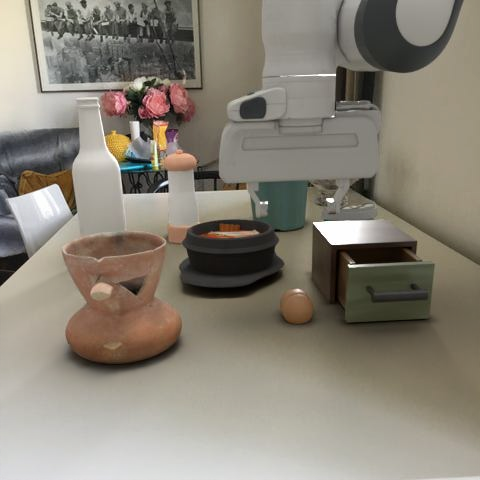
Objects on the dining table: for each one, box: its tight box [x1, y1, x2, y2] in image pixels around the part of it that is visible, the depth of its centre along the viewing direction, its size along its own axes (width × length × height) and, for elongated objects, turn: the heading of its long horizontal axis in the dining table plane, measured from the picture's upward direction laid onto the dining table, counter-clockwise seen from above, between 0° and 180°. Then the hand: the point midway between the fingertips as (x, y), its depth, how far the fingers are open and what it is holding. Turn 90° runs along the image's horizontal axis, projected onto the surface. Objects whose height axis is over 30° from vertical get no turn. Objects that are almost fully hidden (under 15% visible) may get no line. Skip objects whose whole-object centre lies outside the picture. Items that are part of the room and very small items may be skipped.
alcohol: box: [71, 96, 128, 237], centre depth 106 cm, size 9×9×30 cm
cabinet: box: [311, 219, 418, 304], centre depth 90 cm, size 15×13×10 cm
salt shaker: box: [162, 149, 201, 244], centre depth 122 cm, size 7×7×19 cm
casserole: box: [178, 218, 285, 289], centre depth 99 cm, size 25×19×8 cm
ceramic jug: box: [61, 230, 183, 365], centre depth 71 cm, size 18×14×14 cm
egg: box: [279, 288, 315, 325], centre depth 79 cm, size 6×4×4 cm
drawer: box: [335, 247, 436, 323], centre depth 80 cm, size 18×11×8 cm, turn 4°
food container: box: [320, 198, 379, 222], centre depth 107 cm, size 12×6×10 cm, turn 126°
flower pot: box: [249, 180, 309, 232], centre depth 132 cm, size 16×16×16 cm
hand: (297, 215), depth 74 cm, fingers open, 8 cm apart
